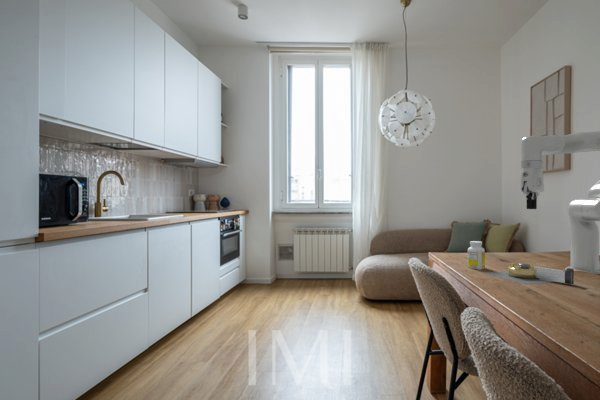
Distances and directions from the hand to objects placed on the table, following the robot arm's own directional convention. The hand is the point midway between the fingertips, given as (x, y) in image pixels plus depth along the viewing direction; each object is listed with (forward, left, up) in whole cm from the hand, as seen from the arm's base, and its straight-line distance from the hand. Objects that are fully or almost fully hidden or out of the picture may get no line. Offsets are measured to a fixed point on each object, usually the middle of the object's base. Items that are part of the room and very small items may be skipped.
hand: (531, 208), depth 149 cm
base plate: (+15, +10, -27) cm, 33 cm away
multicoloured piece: (+13, +15, -25) cm, 33 cm away
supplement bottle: (+20, -9, -27) cm, 35 cm away
